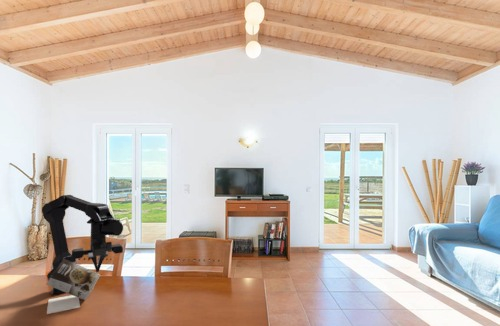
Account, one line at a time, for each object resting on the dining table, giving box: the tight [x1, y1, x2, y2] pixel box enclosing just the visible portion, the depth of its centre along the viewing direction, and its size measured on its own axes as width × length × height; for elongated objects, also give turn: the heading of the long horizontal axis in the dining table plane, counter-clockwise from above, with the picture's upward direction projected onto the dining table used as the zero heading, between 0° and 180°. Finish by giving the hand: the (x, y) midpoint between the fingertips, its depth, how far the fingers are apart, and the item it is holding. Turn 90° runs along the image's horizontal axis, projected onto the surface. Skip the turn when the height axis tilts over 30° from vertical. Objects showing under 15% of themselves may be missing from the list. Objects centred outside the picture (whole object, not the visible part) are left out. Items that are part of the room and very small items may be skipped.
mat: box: [46, 294, 81, 315], centre depth 115 cm, size 14×10×1 cm
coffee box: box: [46, 259, 101, 301], centre depth 119 cm, size 9×6×16 cm
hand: (97, 271), depth 122 cm, fingers closed
